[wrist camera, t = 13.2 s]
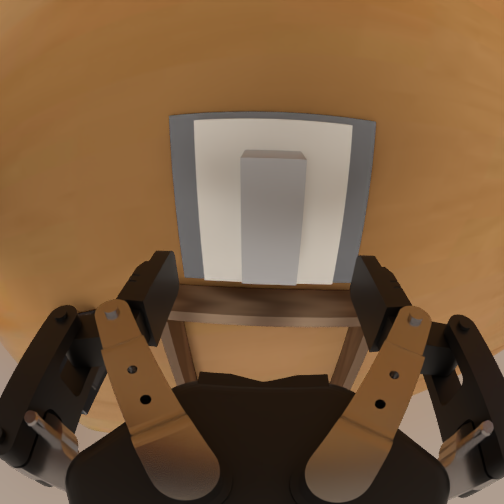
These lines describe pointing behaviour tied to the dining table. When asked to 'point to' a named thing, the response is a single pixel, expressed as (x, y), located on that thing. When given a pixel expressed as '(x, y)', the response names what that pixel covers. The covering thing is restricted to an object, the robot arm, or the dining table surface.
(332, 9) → the dining table surface
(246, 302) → the brown wooden square frame
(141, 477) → the robot arm
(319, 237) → the cover plate
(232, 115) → the mat
